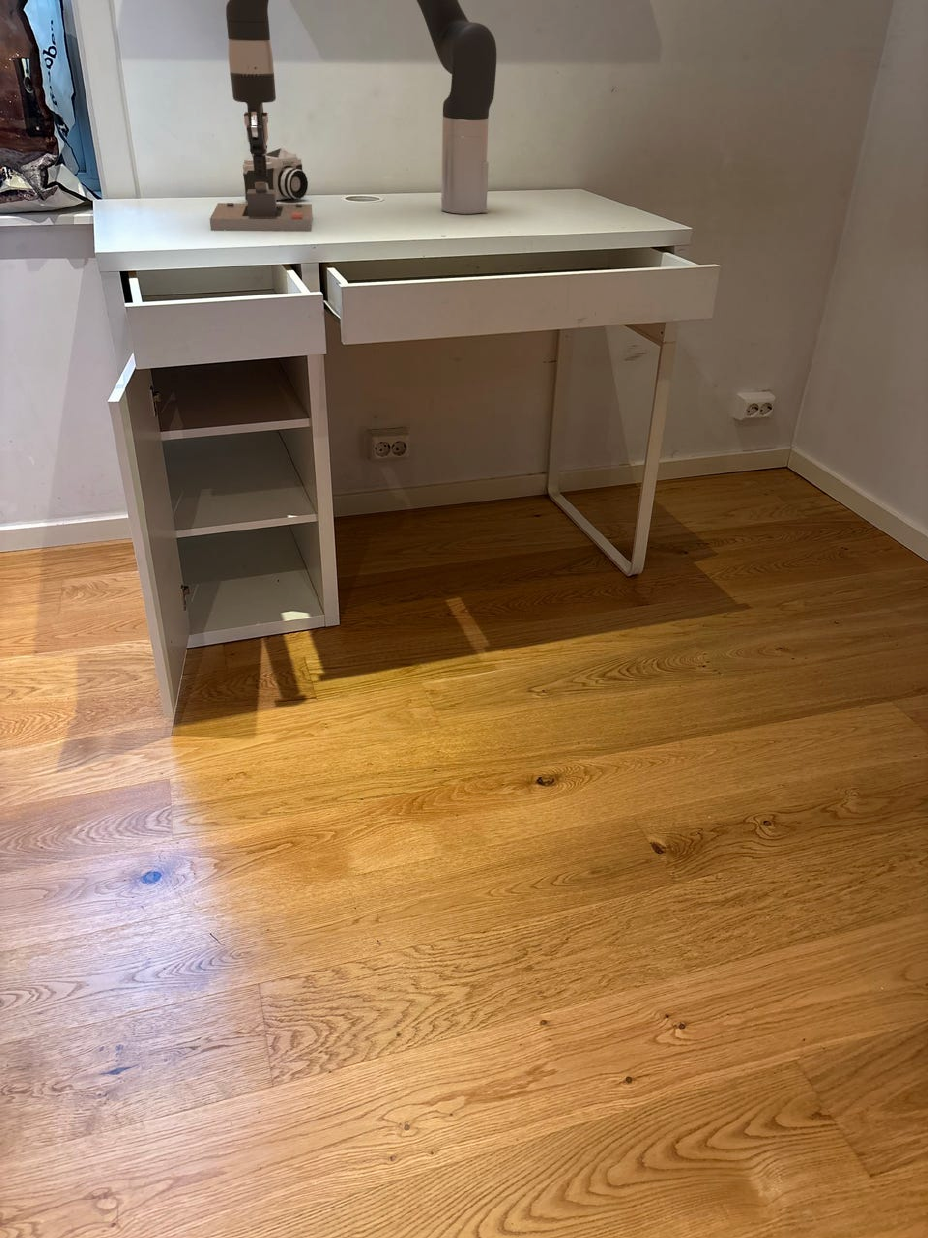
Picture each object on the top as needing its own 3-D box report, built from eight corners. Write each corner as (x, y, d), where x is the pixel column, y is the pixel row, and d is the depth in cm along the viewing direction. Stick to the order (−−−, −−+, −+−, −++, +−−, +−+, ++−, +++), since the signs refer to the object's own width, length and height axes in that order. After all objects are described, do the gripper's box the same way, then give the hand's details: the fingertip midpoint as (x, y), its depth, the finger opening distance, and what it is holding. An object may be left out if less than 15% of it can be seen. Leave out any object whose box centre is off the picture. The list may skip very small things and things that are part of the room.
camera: (267, 207, 192) (263, 153, 187) (238, 202, 197) (233, 149, 191) (321, 198, 203) (318, 146, 198) (293, 192, 207) (289, 142, 202)
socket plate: (312, 217, 185) (311, 200, 183) (311, 234, 172) (310, 215, 170) (219, 216, 182) (217, 199, 181) (211, 233, 170) (209, 214, 168)
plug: (277, 223, 179) (274, 180, 175) (276, 228, 176) (273, 184, 172) (251, 223, 179) (247, 180, 175) (249, 228, 175) (245, 184, 171)
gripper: (271, 73, 158) (280, 184, 168) (275, 67, 169) (283, 172, 179) (226, 72, 157) (237, 184, 167) (233, 66, 168) (243, 172, 178)
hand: (261, 178), depth 173 cm, fingers closed
